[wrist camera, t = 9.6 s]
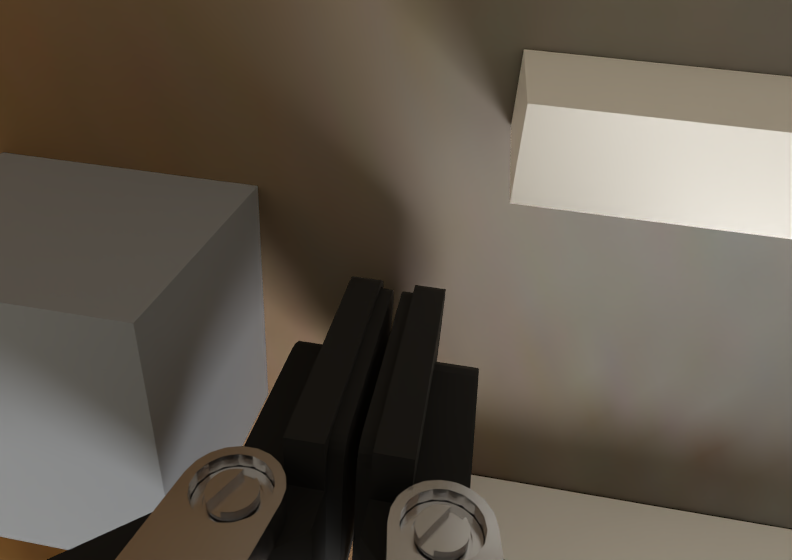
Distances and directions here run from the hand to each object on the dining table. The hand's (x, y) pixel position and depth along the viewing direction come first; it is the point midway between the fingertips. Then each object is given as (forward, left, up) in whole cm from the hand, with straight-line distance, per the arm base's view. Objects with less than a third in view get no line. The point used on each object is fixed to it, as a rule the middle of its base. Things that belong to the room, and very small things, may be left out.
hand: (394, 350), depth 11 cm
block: (+5, 0, -1) cm, 6 cm away
